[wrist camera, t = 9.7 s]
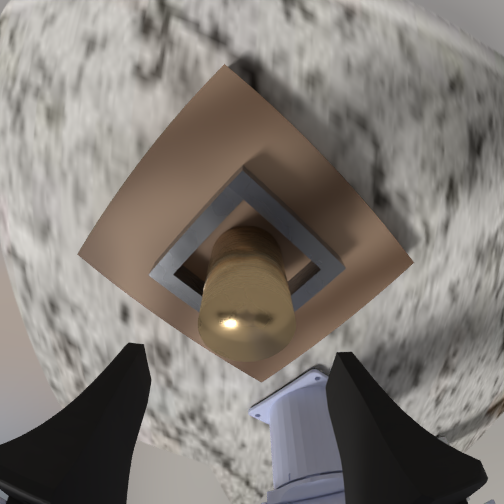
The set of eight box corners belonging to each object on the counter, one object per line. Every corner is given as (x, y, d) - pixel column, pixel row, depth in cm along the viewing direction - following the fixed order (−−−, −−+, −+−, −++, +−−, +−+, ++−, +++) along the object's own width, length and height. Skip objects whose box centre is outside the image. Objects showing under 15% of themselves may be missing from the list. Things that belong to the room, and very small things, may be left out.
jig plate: (404, 252, 20) (413, 262, 18) (260, 368, 24) (261, 382, 23) (226, 67, 15) (224, 64, 13) (86, 244, 19) (77, 254, 18)
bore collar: (339, 255, 18) (346, 268, 17) (249, 332, 20) (250, 347, 19) (242, 164, 16) (242, 170, 14) (154, 262, 18) (148, 275, 17)
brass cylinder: (296, 256, 18) (315, 324, 13) (248, 299, 19) (249, 373, 14) (244, 210, 17) (243, 268, 11) (196, 260, 18) (178, 329, 13)
